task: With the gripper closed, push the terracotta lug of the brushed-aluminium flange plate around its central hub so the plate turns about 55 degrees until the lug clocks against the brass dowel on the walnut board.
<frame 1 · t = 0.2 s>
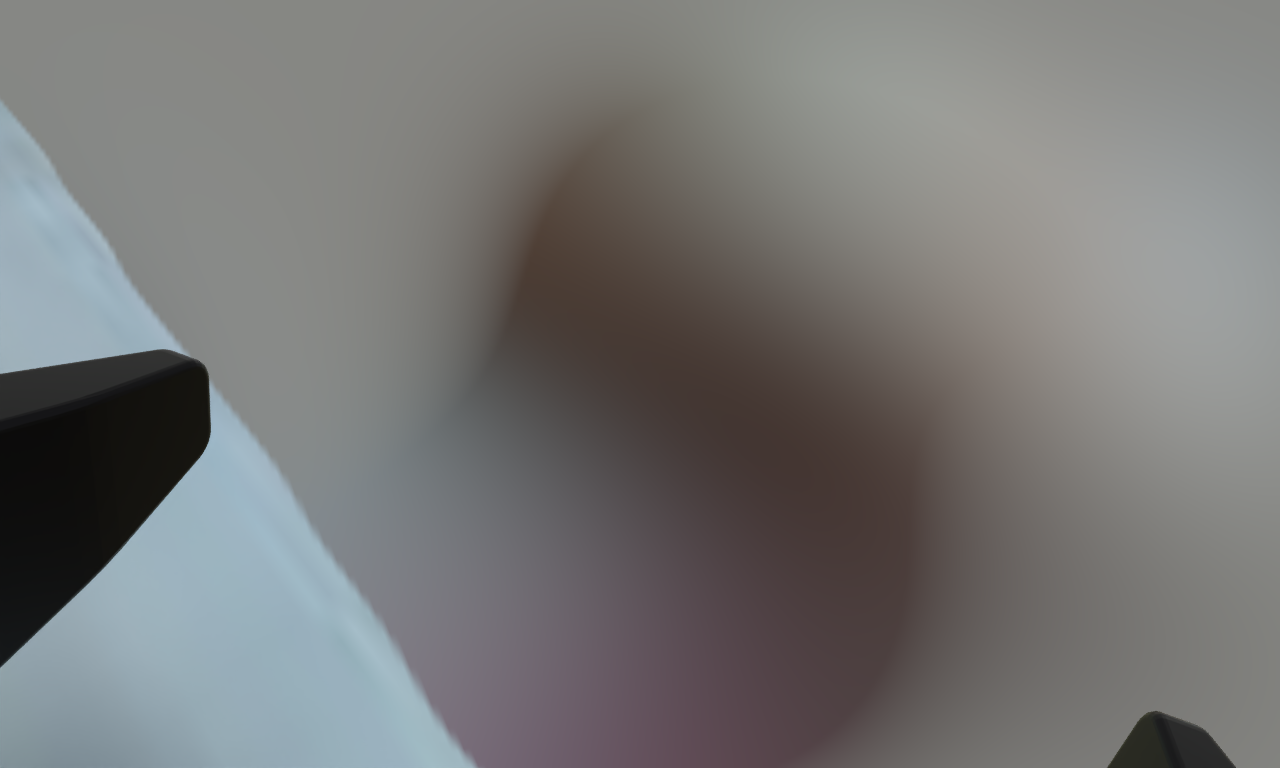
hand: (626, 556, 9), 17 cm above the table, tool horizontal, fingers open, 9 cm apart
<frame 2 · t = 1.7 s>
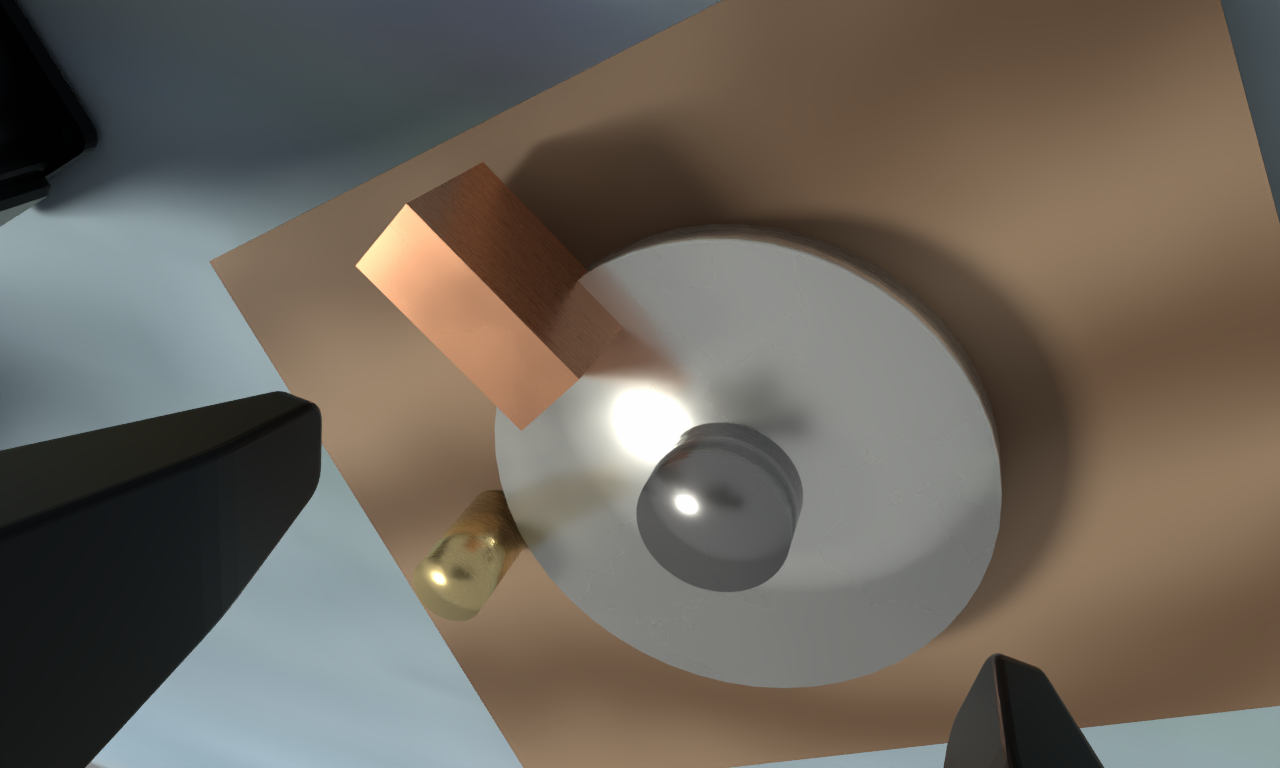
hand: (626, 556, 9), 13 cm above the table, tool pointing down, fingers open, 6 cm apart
flange plate: (672, 454, 20), point 3 cm above the table, hinge at 0.0°
base board: (752, 432, 23), on the table
brass dowel: (501, 519, 25), resting on base board
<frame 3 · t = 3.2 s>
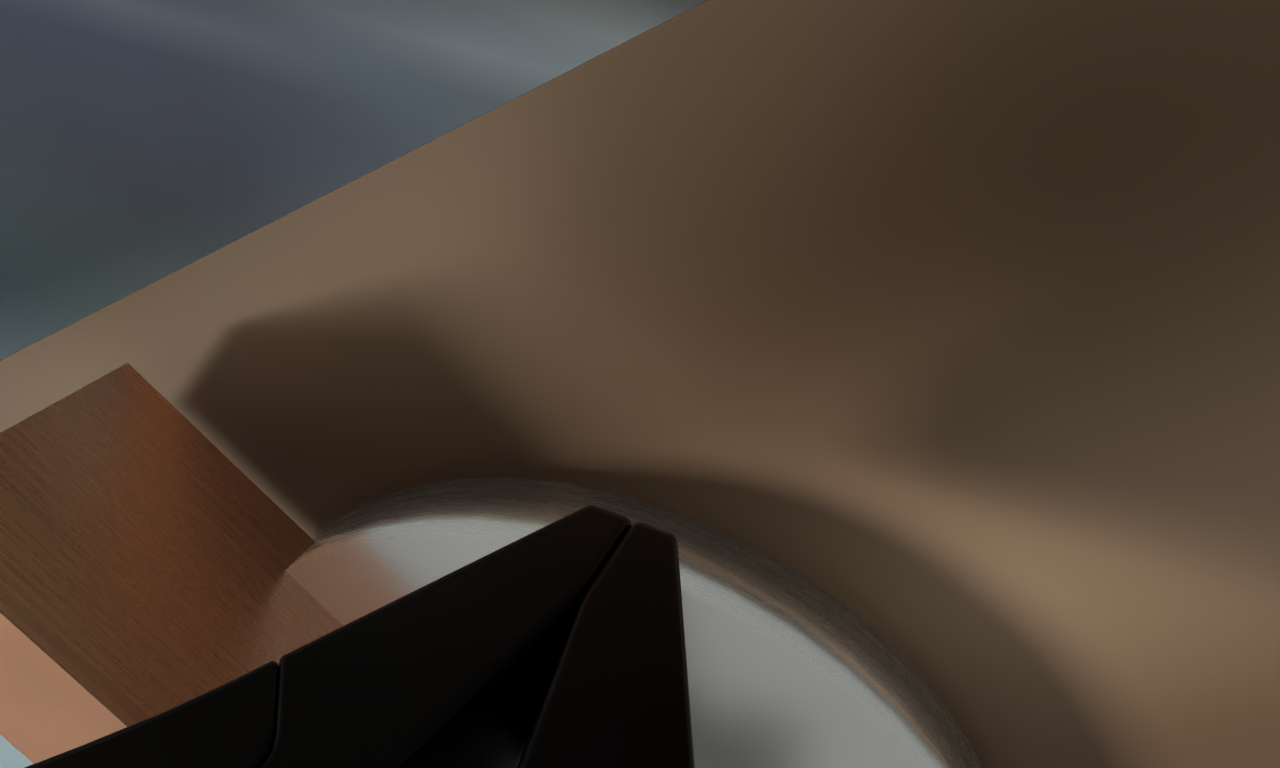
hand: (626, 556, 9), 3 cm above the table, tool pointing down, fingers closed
base board: (621, 746, 15), on the table
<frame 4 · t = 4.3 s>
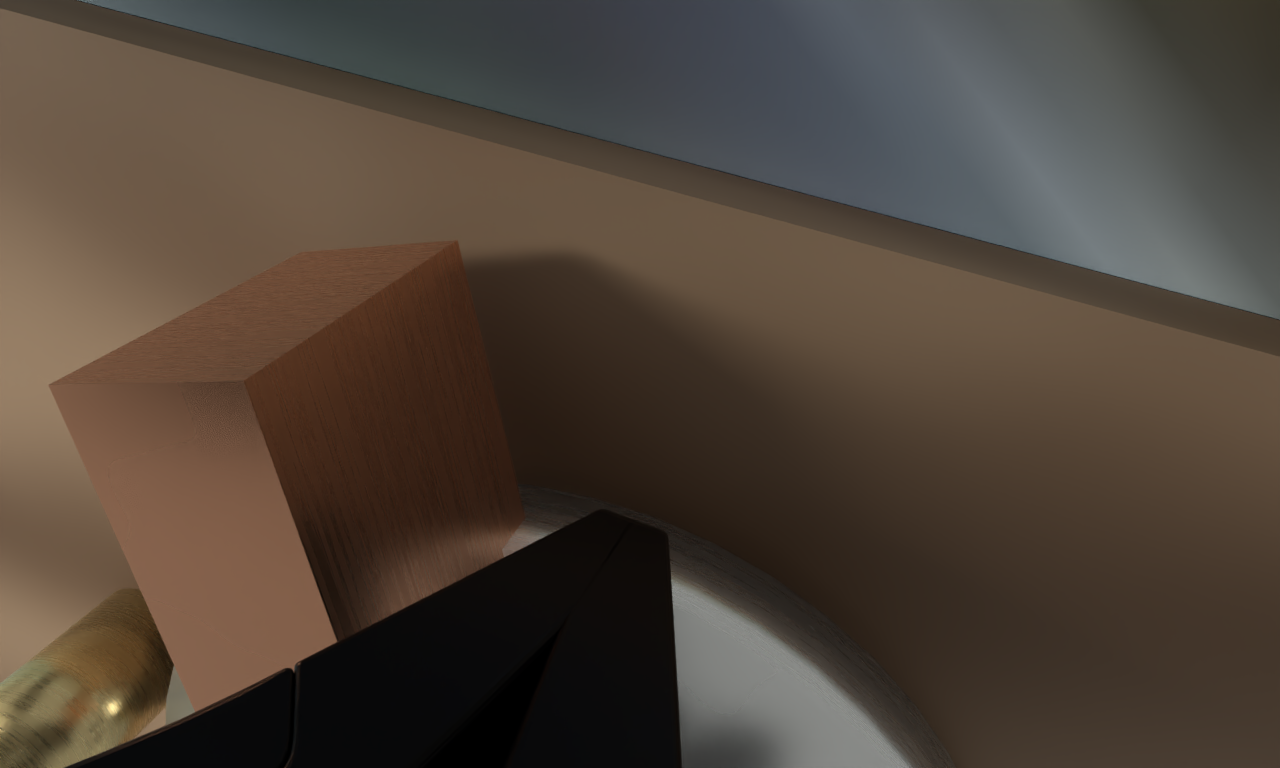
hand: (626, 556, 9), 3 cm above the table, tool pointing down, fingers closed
base board: (599, 753, 14), on the table
brass dowel: (153, 636, 15), resting on base board
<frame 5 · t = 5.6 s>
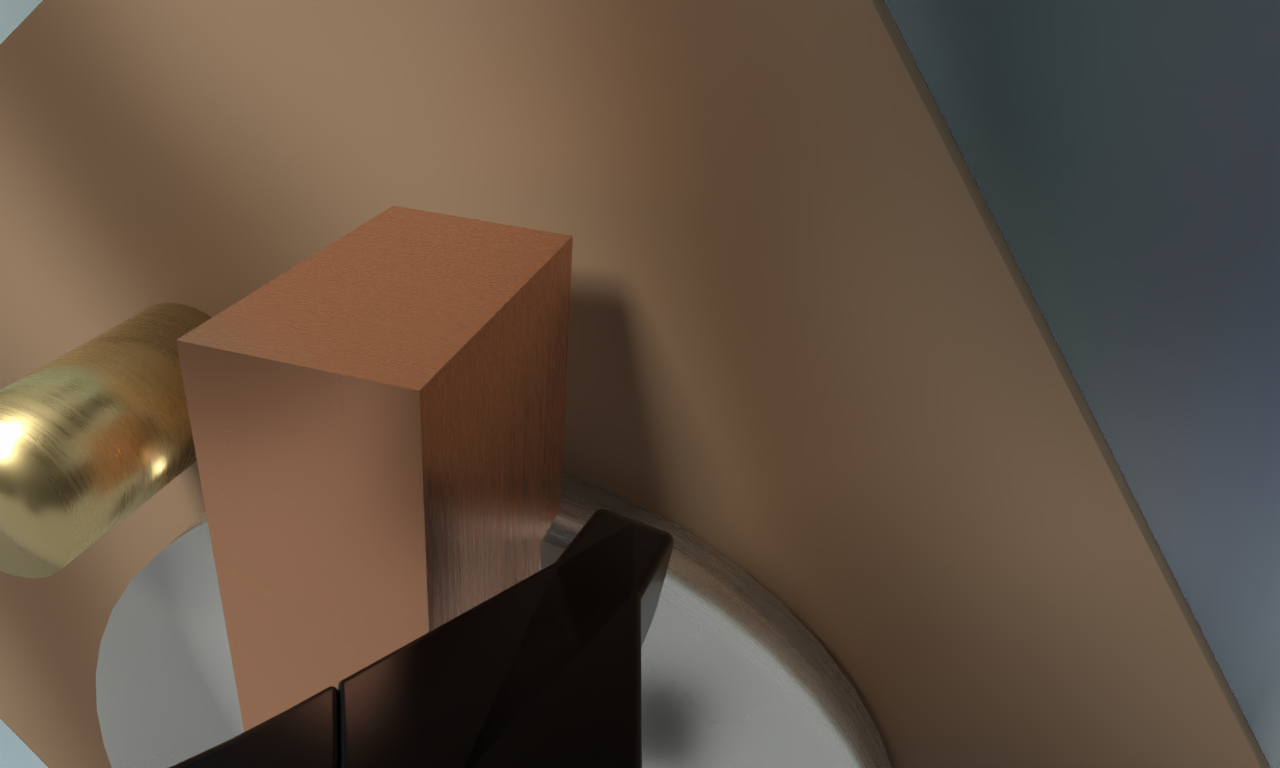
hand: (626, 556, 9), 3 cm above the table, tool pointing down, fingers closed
base board: (533, 713, 15), on the table
brass dowel: (191, 369, 12), resting on base board
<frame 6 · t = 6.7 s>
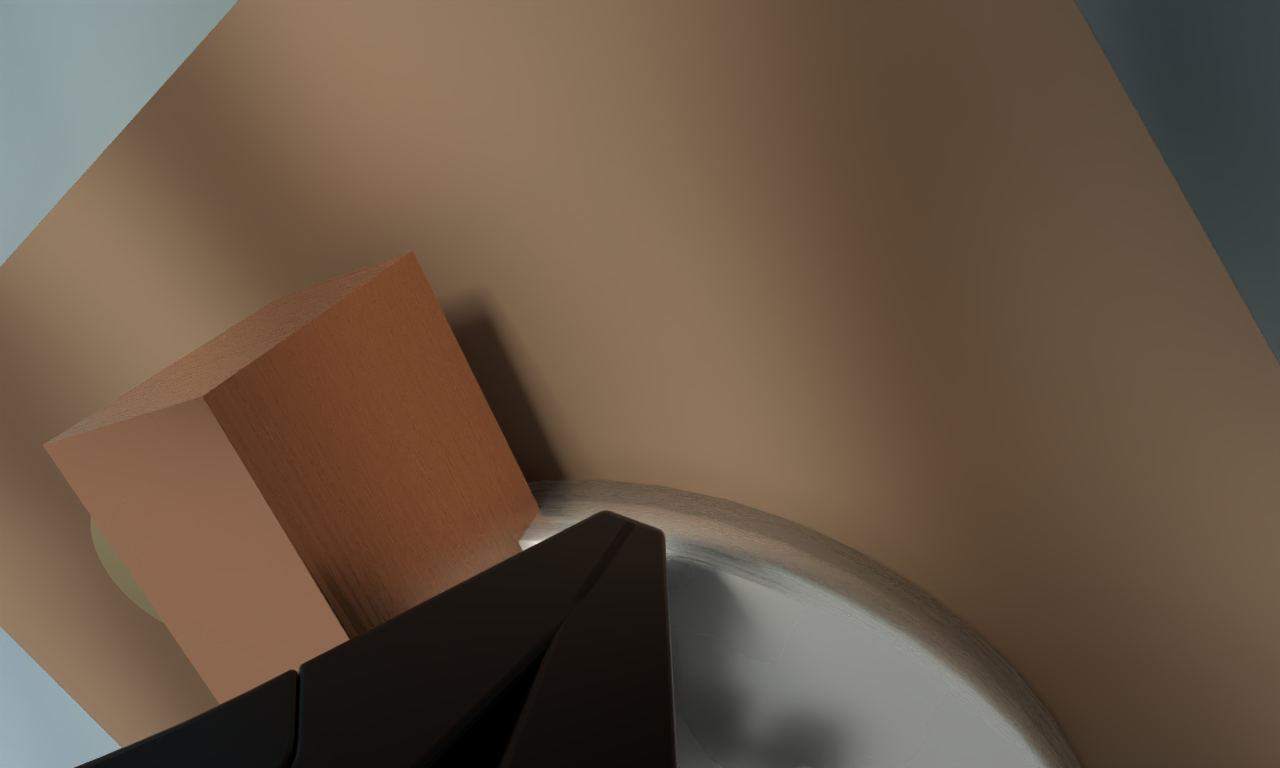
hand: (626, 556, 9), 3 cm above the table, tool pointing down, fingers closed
base board: (685, 749, 14), on the table
brass dowel: (338, 414, 12), resting on base board
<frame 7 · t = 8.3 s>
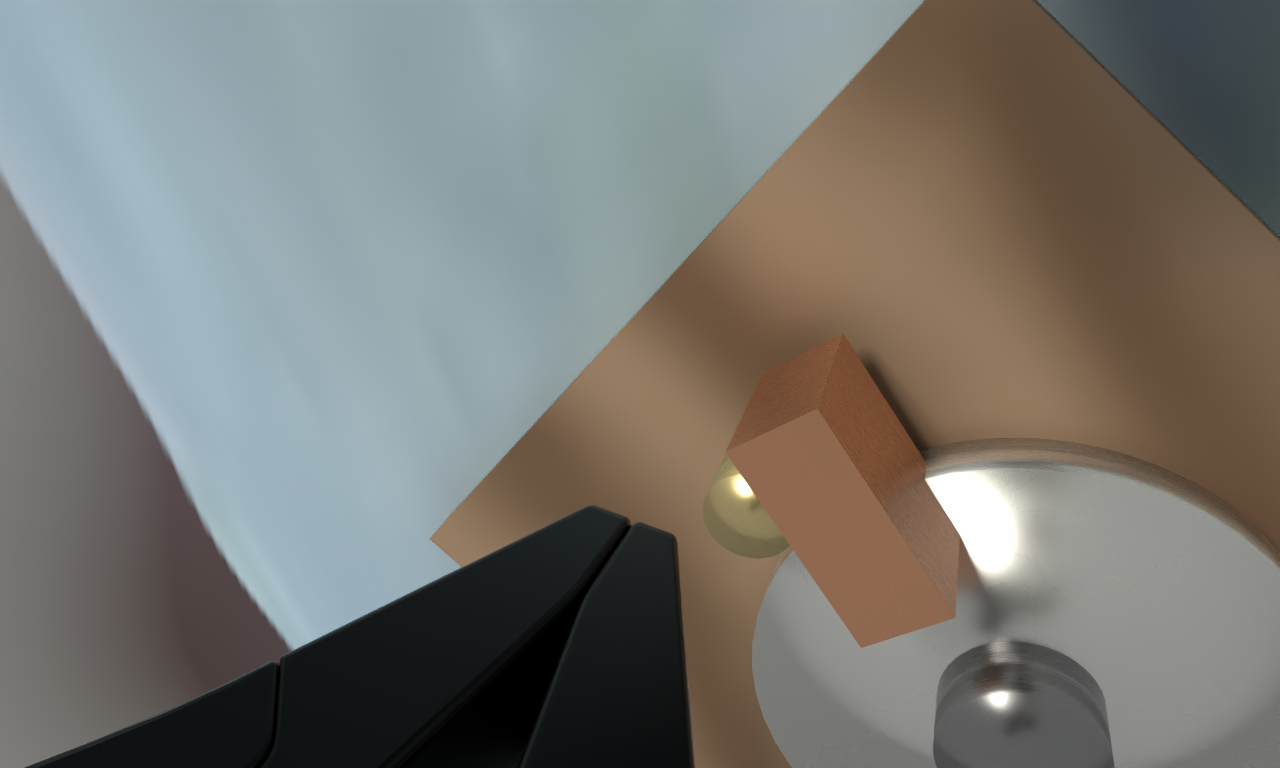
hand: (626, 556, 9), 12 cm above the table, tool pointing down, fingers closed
flange plate: (982, 671, 19), point 3 cm above the table, hinge at 55.1°, touching brass dowel
base board: (1016, 625, 22), on the table
brass dowel: (780, 439, 20), resting on base board
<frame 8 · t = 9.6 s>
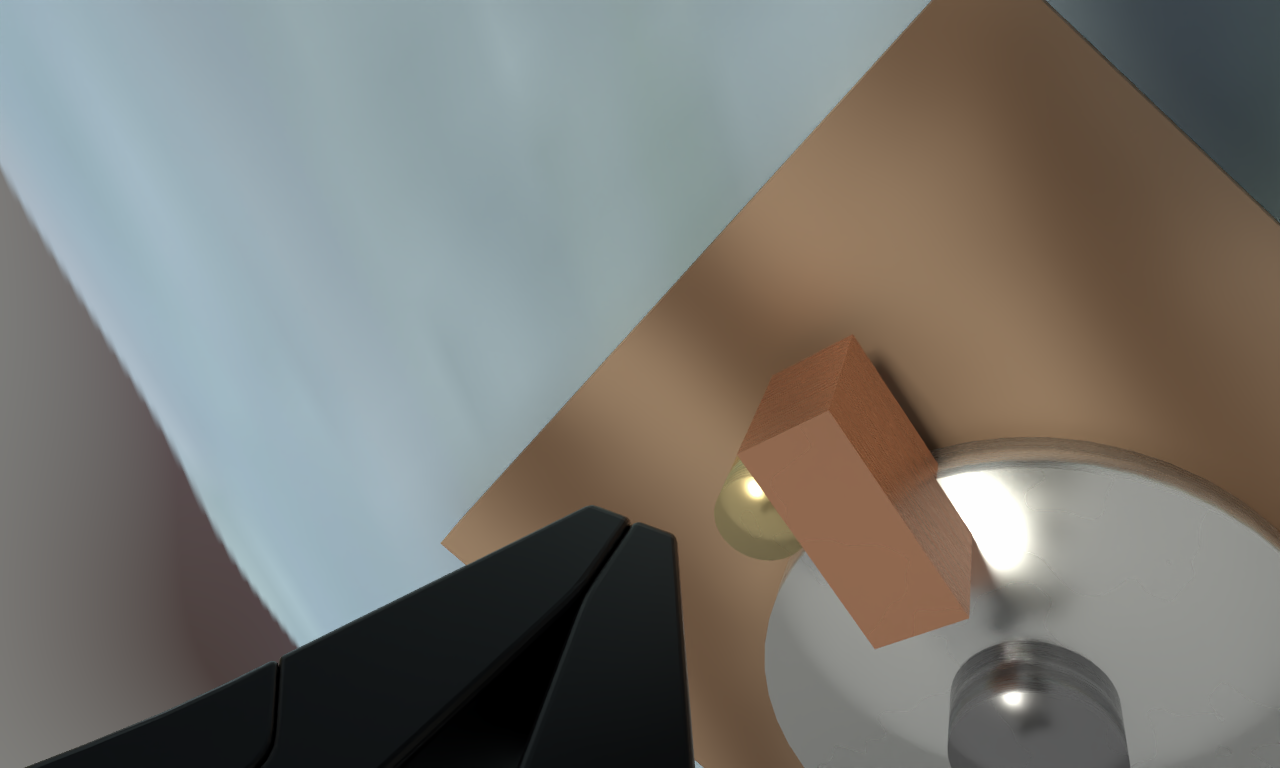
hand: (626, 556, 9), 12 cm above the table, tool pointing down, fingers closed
flange plate: (996, 671, 19), point 3 cm above the table, hinge at 55.1°, touching brass dowel
base board: (1029, 624, 22), on the table
brass dowel: (790, 441, 20), resting on base board
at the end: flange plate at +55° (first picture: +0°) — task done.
